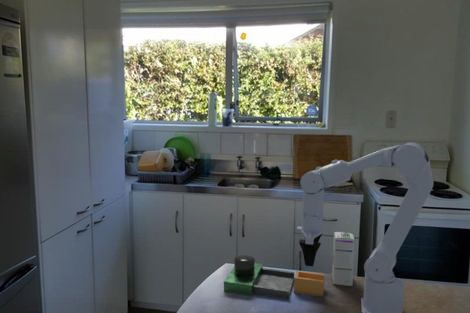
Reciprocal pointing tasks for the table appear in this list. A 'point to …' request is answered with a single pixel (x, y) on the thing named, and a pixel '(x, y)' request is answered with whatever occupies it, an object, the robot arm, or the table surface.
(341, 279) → the syrup box
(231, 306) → the table surface
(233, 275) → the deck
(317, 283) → the tan arch block
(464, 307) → the table surface
